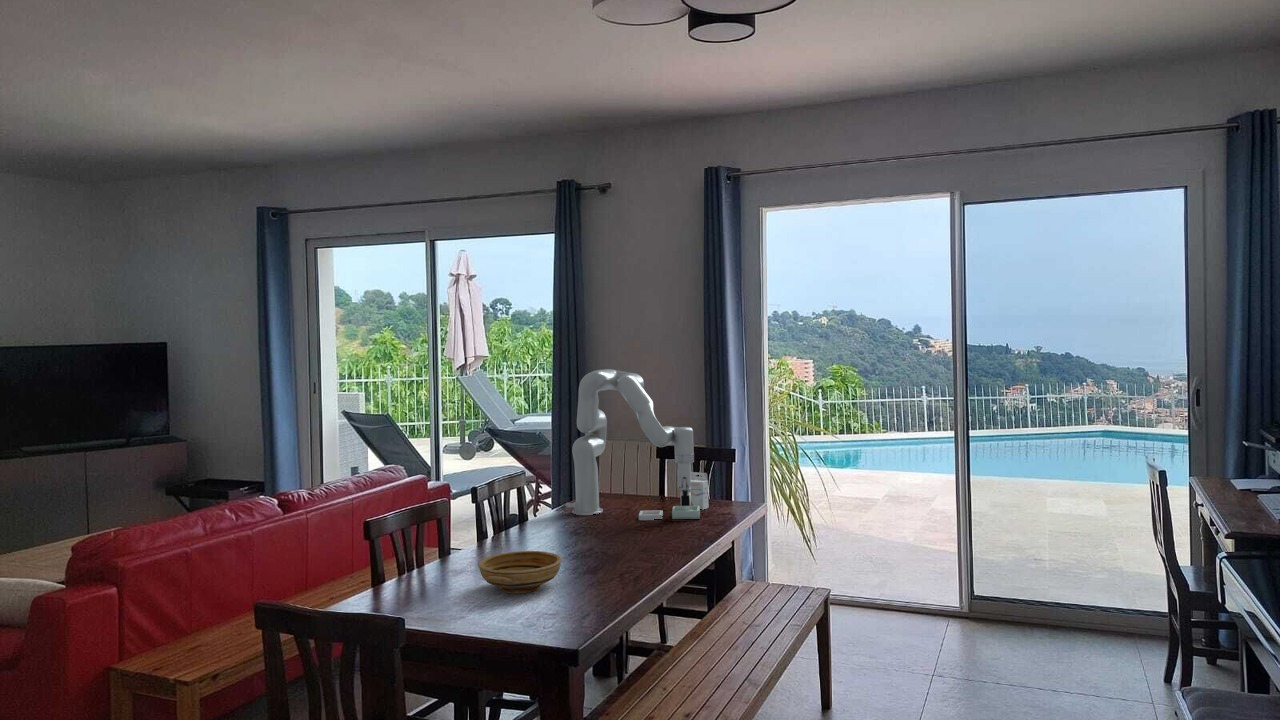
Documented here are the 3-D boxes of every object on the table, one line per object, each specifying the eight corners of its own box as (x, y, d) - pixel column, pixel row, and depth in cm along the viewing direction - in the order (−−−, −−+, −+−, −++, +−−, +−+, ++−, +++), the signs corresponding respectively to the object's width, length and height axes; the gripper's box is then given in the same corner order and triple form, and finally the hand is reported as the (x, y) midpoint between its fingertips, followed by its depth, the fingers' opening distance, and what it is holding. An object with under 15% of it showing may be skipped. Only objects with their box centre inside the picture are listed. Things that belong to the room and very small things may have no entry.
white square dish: (638, 520, 346) (638, 515, 346) (640, 515, 355) (640, 510, 355) (661, 520, 345) (661, 514, 345) (662, 515, 354) (662, 510, 354)
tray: (672, 520, 344) (672, 511, 344) (673, 514, 355) (673, 506, 354) (699, 519, 343) (699, 510, 343) (699, 514, 354) (699, 505, 354)
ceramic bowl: (509, 572, 274) (508, 546, 274) (580, 577, 265) (579, 550, 265) (457, 599, 246) (456, 571, 246) (534, 606, 238) (533, 576, 238)
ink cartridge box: (685, 508, 367) (684, 473, 366) (691, 506, 371) (690, 471, 370) (703, 510, 362) (702, 474, 362) (709, 508, 366) (708, 472, 366)
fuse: (680, 513, 347) (679, 488, 347) (680, 511, 351) (679, 486, 351) (691, 513, 346) (690, 488, 346) (691, 511, 351) (691, 486, 351)
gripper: (675, 455, 357) (677, 500, 357) (673, 461, 340) (675, 508, 341) (694, 455, 356) (695, 500, 357) (693, 461, 340) (694, 508, 340)
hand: (685, 504), depth 349 cm, fingers closed on fuse, 3 cm apart
